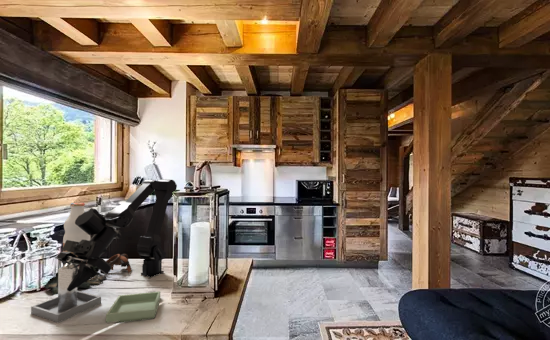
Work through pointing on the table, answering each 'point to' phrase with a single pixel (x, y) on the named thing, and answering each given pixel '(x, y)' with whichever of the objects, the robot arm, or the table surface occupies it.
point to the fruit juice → (74, 225)
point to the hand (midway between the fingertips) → (62, 289)
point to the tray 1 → (51, 310)
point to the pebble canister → (64, 279)
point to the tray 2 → (134, 307)
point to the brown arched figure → (119, 261)
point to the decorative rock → (93, 282)
